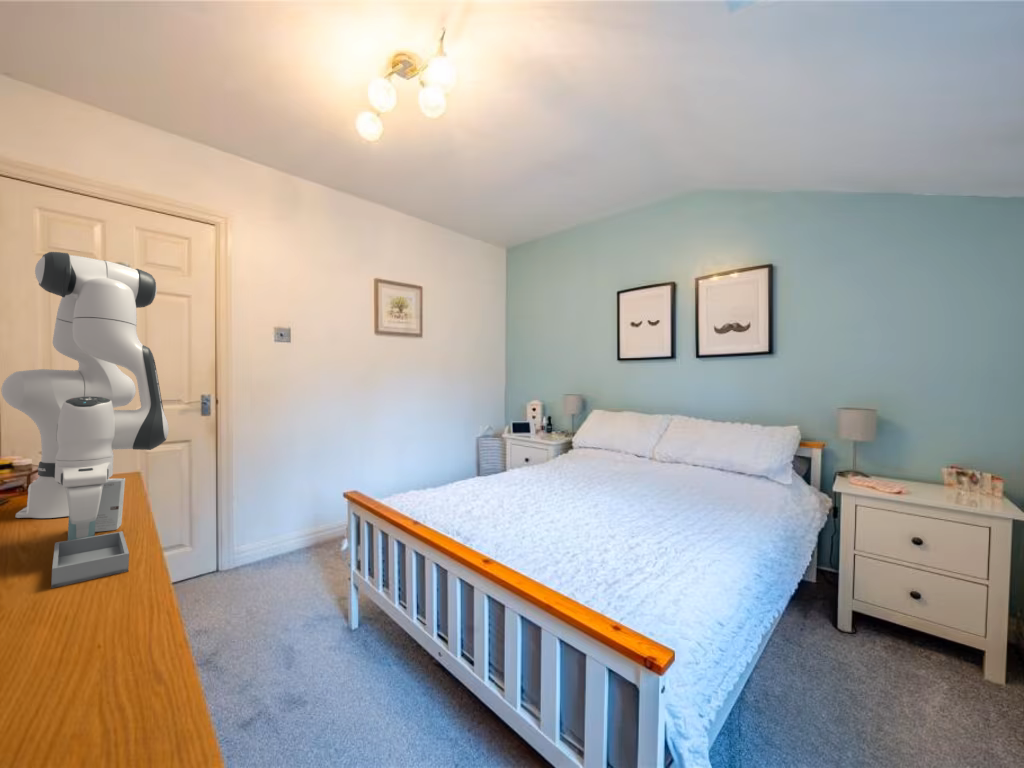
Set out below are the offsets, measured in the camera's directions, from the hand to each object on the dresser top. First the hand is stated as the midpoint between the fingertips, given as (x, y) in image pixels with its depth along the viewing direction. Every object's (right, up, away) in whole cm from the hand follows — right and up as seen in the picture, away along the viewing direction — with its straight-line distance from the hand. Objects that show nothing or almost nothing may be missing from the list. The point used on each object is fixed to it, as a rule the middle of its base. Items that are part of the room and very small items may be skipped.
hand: (81, 533), depth 89 cm
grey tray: (+10, -4, -8) cm, 13 cm away
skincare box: (-6, -3, +11) cm, 13 cm away
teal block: (0, -3, 0) cm, 3 cm away
